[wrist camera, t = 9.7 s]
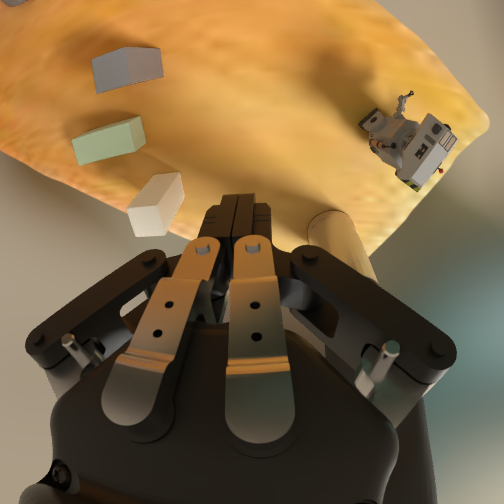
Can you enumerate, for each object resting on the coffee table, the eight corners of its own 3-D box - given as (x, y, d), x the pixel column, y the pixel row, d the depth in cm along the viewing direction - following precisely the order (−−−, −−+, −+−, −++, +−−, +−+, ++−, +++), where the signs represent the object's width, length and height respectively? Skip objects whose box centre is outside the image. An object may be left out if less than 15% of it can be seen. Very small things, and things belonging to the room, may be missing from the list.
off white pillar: (179, 171, 46) (156, 205, 36) (184, 197, 49) (165, 235, 39) (153, 174, 46) (126, 208, 37) (159, 199, 49) (135, 236, 40)
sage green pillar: (128, 122, 35) (71, 140, 37) (135, 151, 38) (79, 165, 40) (141, 115, 39) (86, 131, 40) (147, 142, 42) (93, 155, 44)
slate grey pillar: (160, 48, 32) (125, 46, 23) (163, 76, 35) (130, 83, 26) (131, 56, 32) (91, 59, 23) (135, 83, 36) (96, 94, 26)
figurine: (426, 126, 37) (477, 157, 25) (382, 165, 43) (421, 208, 31) (396, 86, 34) (448, 102, 22) (350, 128, 39) (384, 159, 28)
